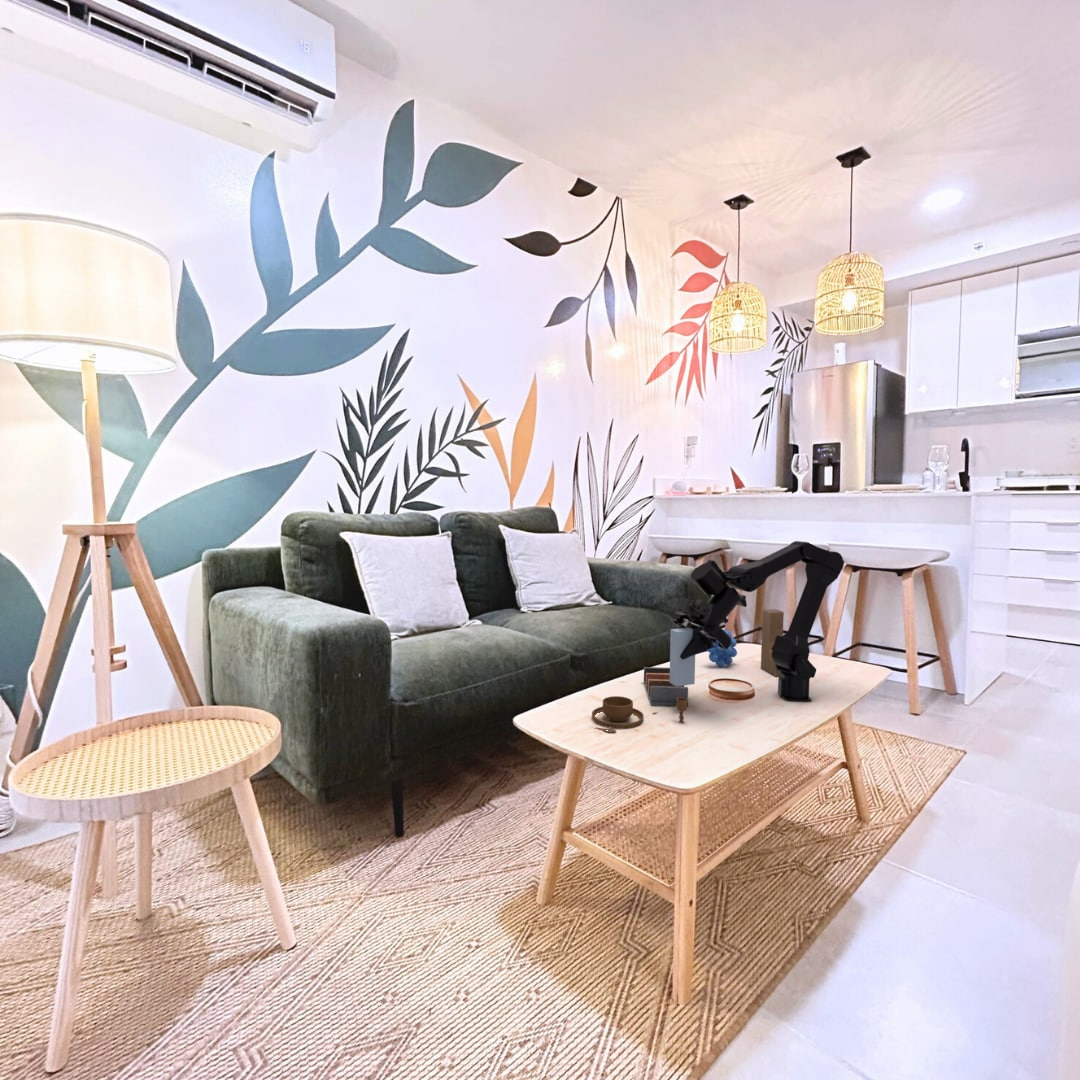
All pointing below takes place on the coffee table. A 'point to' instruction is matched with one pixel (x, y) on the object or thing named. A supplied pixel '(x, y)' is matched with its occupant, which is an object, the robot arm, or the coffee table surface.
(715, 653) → the grapes
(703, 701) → the coffee table surface
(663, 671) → the rack
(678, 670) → the blue-gray rectangular block
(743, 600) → the robot arm
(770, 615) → the wooden block
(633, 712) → the place setting
